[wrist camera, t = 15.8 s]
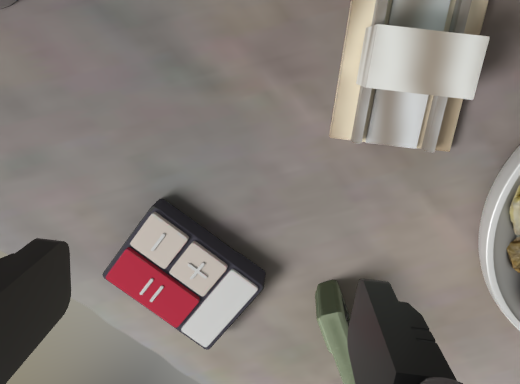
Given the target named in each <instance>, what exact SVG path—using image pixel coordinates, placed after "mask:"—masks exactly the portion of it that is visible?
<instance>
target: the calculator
mask: <svg viewBox="0 0 520 384" xmlns="http://www.w3.org/2000/svg"><path fill="white" fill-rule="evenodd" d="M265 275H266V272H265V271H264V270H263V269H261V268H260V267H258V266H257V265H255V264H254V263H253V262H251V261H250V260H248V259H247V258H246V257H244V256H243V255H241V254H240V253H238V252H236V251H234V250H233V249H231V248H230V247H229V246H227V245H226V244H224V243H223V242H222V241H220V240H219V239H218V238H216V237H215V236H214V235H212V234H211V233H210V232H208V231H207V230H206V229H204V228H203V227H202V226H200V225H199V224H198V223H196V222H195V221H193V220H192V219H191V218H189V217H188V216H186V215H185V214H184V213H182V212H181V211H179V210H178V209H177V208H175V207H174V206H172V205H171V204H169V203H168V202H167V201H165V200H164V199H159V200H158V201H157V202H156V203H155V204H154V205H153V206H152V207H151V208H150V209H149V210H148V212H147V213H146V215H145V216H144V217H143V219H142V220H141V221H140V223H139V224H138V226H137V227H136V228H135V230H134V231H133V232H132V234H131V235H130V237H129V238H128V239H127V241H126V242H125V243H124V245H123V246H122V248H121V249H120V250H119V252H118V253H117V255H116V256H115V257H114V259H113V260H112V261H111V263H110V264H109V266H108V267H107V268H106V270H105V271H104V273H103V277H104V278H105V279H106V280H108V281H109V282H111V283H112V284H113V285H115V286H116V287H118V288H119V289H120V290H122V291H123V292H125V293H126V294H128V295H129V296H130V297H132V298H133V299H135V300H136V301H137V302H139V303H140V304H142V305H143V306H145V307H146V308H147V309H149V310H150V311H152V312H153V313H154V314H156V315H157V316H159V317H160V318H162V319H163V320H164V321H166V322H167V323H169V324H170V325H172V326H173V327H174V328H176V329H177V330H179V331H180V332H181V333H183V334H184V335H186V336H187V337H189V338H190V339H191V340H193V341H194V342H196V343H197V344H198V345H200V346H201V347H203V348H204V349H207V350H208V349H210V348H211V347H212V346H213V345H214V343H215V342H216V341H217V340H218V339H219V338H220V337H221V336H222V334H223V333H224V332H225V331H226V330H227V329H228V328H229V327H230V326H231V324H232V323H233V322H234V321H235V320H236V319H237V318H238V317H239V315H240V314H241V313H242V312H243V311H244V310H245V309H246V308H247V306H248V305H249V304H250V303H251V302H252V301H253V300H254V299H255V298H256V296H257V295H258V294H259V293H260V292H261V291H262V290H263V287H264V281H265Z"/></svg>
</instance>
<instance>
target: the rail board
mask: <svg viewBox="0 0 520 384" xmlns="http://www.w3.org/2000/svg"><path fill="white" fill-rule="evenodd" d="M488 1H489V0H351V5H350V11H349V17H348V23H347V29H346V36H345V42H344V48H343V54H342V60H341V66H340V72H339V79H338V85H337V91H336V97H335V103H334V109H333V115H332V122H331V128H330V134H329V136H330V138H337V139H345V140H351V141H352V142H353V143H357V144H361V143H362V142H366V143H372V144H381V145H389V146H398V147H406V148H415V149H416V148H421V149H423V150H424V151H426V152H433V153H434V152H435V150H439V151H448V152H450V148H451V144H452V140H453V136H454V132H455V129H456V125H457V121H458V117H459V113H460V109H461V105H462V102H463V99H469V100H473V99H474V95H475V91H476V87H477V84H478V80H479V76H480V72H481V69H482V65H483V61H484V57H485V54H486V50H487V46H488V42H489V39H490V37H489V36H480V32H481V28H482V24H483V20H484V16H485V12H486V9H487V5H488Z"/></svg>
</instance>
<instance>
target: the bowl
mask: <svg viewBox="0 0 520 384" xmlns="http://www.w3.org/2000/svg"><path fill="white" fill-rule="evenodd" d="M478 243H479V258H480V264H481V269H482V273H483V276H484V279H485V282H486V285H487V287H488V289H489V292H490V293H491V295H492V297H493V299H494V301H495V302H496V304H497V305H498V307H499V308H500V310H501V311H502V312H503V314H504V315H505V316H506V317H507V318H508V320H509V321H510V322H511V323H512V324H513V325H514V326H515V327H516V328H517V329H518V330H519V331H520V145H519V146H518V147H517V149H516V150H515V151H514V152H513V153H512V155H511V156H510V157H509V159H508V160H507V161H506V163H505V164H504V166H503V167H502V169H501V170H500V172H499V174H498V176H497V177H496V179H495V181H494V183H493V185H492V187H491V189H490V191H489V194H488V196H487V199H486V202H485V205H484V208H483V212H482V216H481V221H480V228H479V240H478Z"/></svg>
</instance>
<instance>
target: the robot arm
mask: <svg viewBox="0 0 520 384" xmlns="http://www.w3.org/2000/svg"><path fill="white" fill-rule="evenodd" d="M16 1H17V0H0V9H2V8H5V7H8V6H10V5H12V4H13V3H14V2H16ZM70 297H71V278H70V253H69V246H68V244H67V243H66V242H64V241H56V240H48V239H40V238H37V239H34V240H33V241H31V242H30V243H29V244H27V245H26V246H25V247H23V248H22V249H21V250H19V251H18V252H16V253H15V254H14V253H13V254H10V255H8V256H5V257H3V258H0V384H6V383H7V381H8V380H9V379H10V378H11V377H12V375H13V374H14V373H15V372H16V371H17V369H18V368H19V367H20V366H21V365H22V364H23V362H24V361H25V360H26V359H27V358H28V357H29V355H30V354H31V353H32V352H33V351H34V349H35V348H36V347H37V346H38V344H39V343H40V342H41V341H42V340H43V339H44V338H45V336H46V335H47V334H48V333H49V331H50V330H51V329H52V328H53V327H54V326H55V324H56V323H57V322H58V321H59V320H60V319H61V317H62V316H63V315H64V313H65V312H66V310H67V308H68V305H69V302H70ZM347 345H348V353H349V357H350V362H351V366H352V371H353V375H354V380H355V384H463V383H461V382H458V381H457V380H456V378H455V376H454V374H453V373H452V371H451V369H450V367H449V365H448V363H447V361H446V360H445V358H444V356H443V354H442V352H441V350H440V348H439V346H438V345H437V343H435V339H434V337H433V335H432V333H431V332H429V328H428V326H427V324H426V322H425V320H424V319H423V317H422V315H421V314H420V313H419V312H418V311H416V310H415V309H414V308H413V307H412V306H411V305H410V304H409V303H406V302H398V300H397V298H396V295H395V293H394V291H393V289H392V287H391V285H390V283H389V282H386V281H377V280H369V279H360V280H359V282H358V285H357V289H356V294H355V298H354V303H353V308H352V313H351V318H350V322H349V328H348V337H347Z"/></svg>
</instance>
